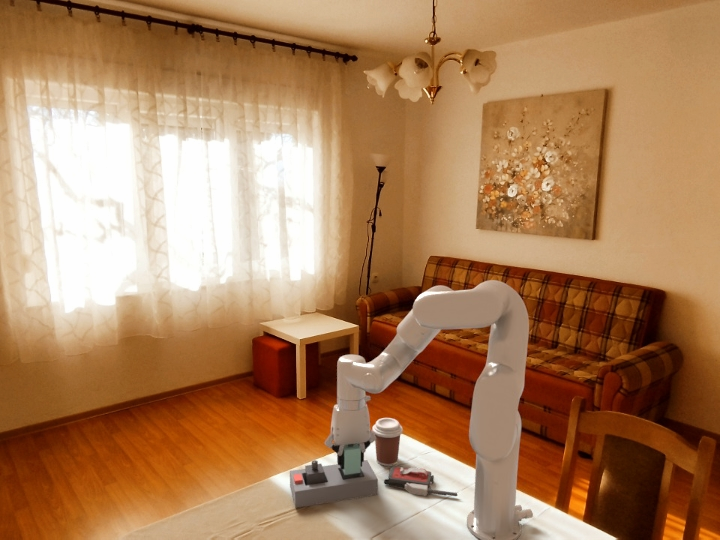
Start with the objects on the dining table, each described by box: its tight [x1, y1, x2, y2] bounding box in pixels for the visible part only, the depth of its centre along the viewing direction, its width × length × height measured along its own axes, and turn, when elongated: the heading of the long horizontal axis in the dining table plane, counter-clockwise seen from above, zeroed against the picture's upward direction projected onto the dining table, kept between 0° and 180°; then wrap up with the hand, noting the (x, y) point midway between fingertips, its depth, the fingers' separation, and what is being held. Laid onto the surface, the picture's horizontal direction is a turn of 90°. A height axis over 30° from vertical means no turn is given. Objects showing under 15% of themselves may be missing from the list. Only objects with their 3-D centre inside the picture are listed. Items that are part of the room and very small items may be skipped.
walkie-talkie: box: [383, 466, 458, 497], centre depth 140 cm, size 9×4×20 cm
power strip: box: [289, 459, 379, 509], centre depth 137 cm, size 22×10×9 cm, turn 105°
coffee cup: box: [371, 417, 404, 467], centre depth 152 cm, size 9×9×12 cm
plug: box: [342, 443, 361, 475], centre depth 138 cm, size 4×4×9 cm
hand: (350, 464), depth 138 cm, fingers closed on plug, 4 cm apart
